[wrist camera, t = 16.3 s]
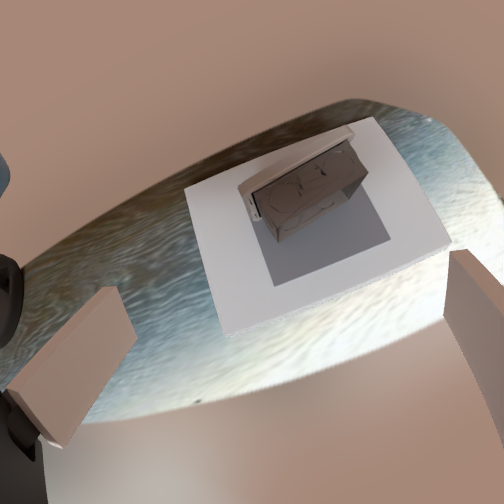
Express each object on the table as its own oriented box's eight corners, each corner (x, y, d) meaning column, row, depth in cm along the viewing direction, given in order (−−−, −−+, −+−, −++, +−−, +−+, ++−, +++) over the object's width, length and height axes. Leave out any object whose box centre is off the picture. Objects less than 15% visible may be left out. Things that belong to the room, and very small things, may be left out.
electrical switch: (333, 168, 30) (335, 106, 21) (364, 209, 28) (380, 156, 20) (250, 217, 30) (223, 168, 22) (278, 262, 29) (260, 228, 20)
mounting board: (230, 337, 29) (223, 335, 27) (191, 198, 35) (183, 188, 33) (445, 249, 27) (452, 241, 25) (371, 128, 33) (372, 115, 31)
